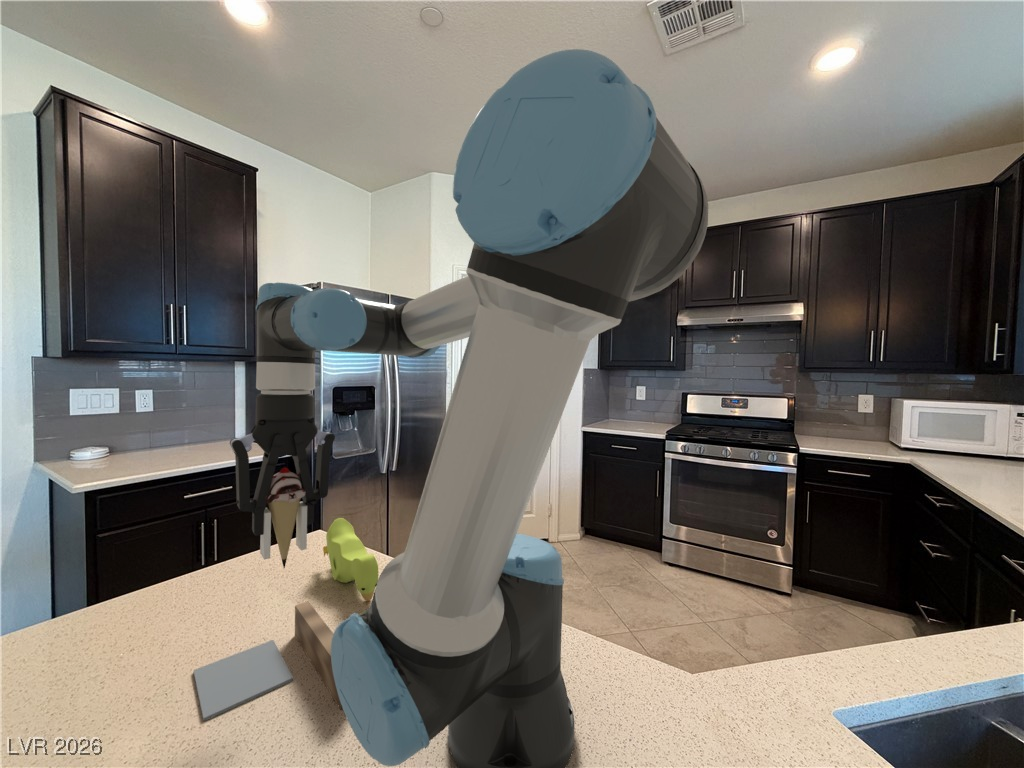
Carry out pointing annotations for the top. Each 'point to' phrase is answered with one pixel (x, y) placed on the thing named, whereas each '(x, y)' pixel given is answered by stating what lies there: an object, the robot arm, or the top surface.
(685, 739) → the top surface
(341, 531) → the toy
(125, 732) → the top surface
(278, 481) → the ice cream cone
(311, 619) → the walnut wall
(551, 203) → the robot arm
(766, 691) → the top surface
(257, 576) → the top surface
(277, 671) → the grey mat
